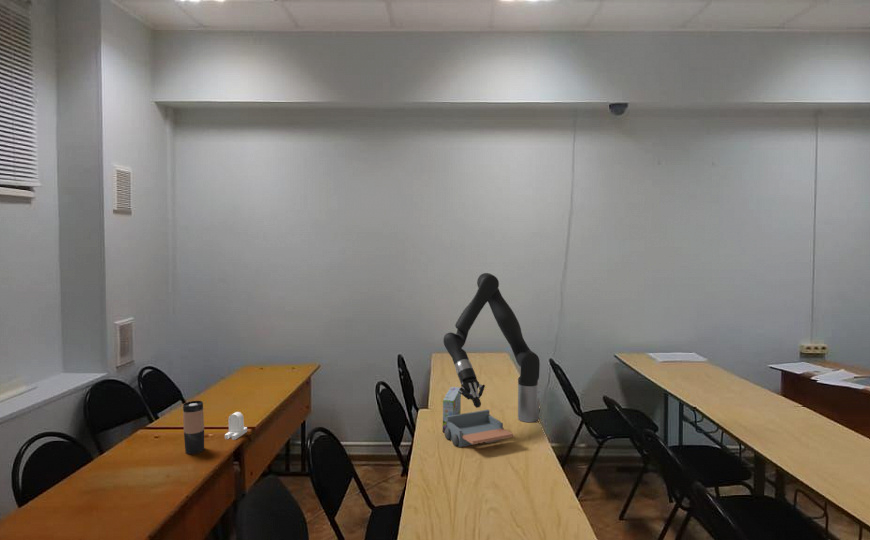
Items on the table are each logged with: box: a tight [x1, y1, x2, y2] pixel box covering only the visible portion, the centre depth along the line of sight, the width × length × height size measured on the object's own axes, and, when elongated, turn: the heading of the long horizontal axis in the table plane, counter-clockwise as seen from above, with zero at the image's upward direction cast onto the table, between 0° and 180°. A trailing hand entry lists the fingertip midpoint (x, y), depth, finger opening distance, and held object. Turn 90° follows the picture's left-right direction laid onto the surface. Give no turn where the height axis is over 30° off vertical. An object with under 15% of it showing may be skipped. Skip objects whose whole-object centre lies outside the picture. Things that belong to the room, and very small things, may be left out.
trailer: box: [443, 409, 504, 448], centre depth 226 cm, size 23×13×9 cm, turn 114°
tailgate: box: [463, 427, 514, 445], centre depth 215 cm, size 19×2×9 cm
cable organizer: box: [224, 411, 248, 441], centre depth 231 cm, size 5×10×10 cm, turn 168°
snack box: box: [442, 386, 462, 433], centre depth 241 cm, size 21×6×15 cm, turn 168°
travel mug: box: [182, 400, 205, 455], centre depth 214 cm, size 8×8×20 cm
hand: (478, 406), depth 222 cm, fingers closed
